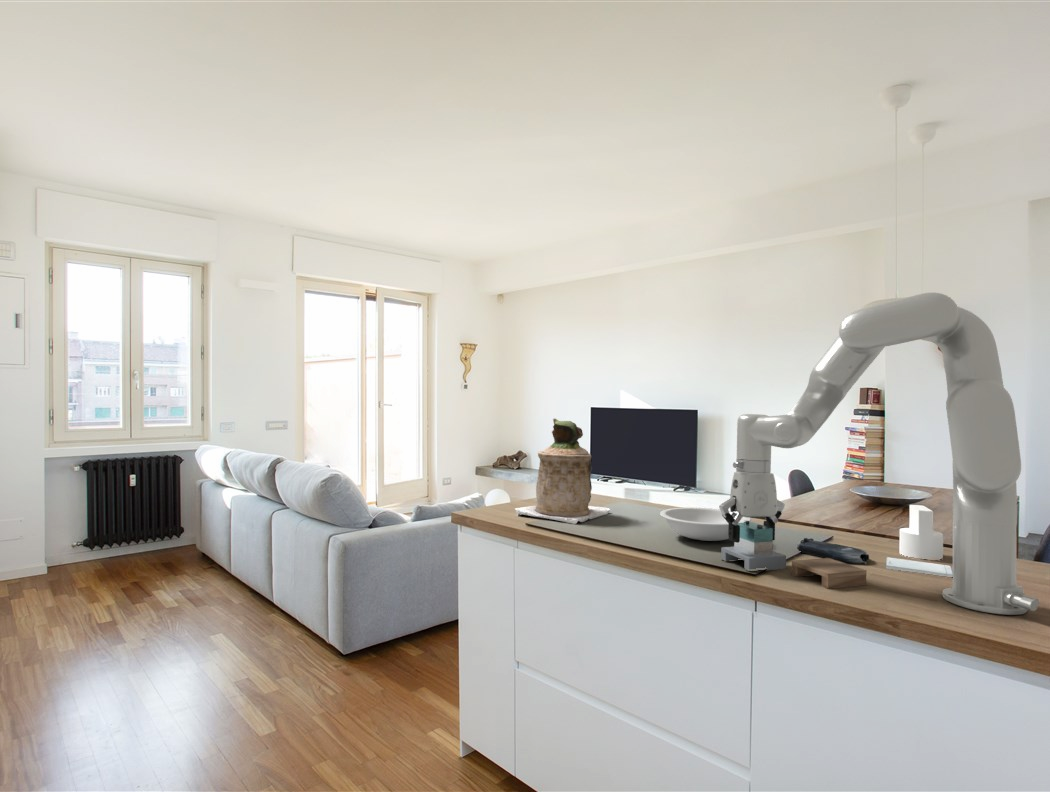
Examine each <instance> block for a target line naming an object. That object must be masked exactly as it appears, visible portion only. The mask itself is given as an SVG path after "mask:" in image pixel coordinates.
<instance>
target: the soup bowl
mask: <svg viewBox="0 0 1050 792" xmlns="http://www.w3.org/2000/svg"><path fill="white" fill-rule="evenodd" d="M729 513H731V511H730V510H729ZM659 514H660V516H661V517H662V518H664V519H665V520H666V522H667V524H668V525H669V527H670V528H671V529H672V530H673V531H674V532H676V533H677V534H679V535H680V536H682V537H685V538H686V539H687V538H688V539H690V540H695V541H696V540H698V541H705V542H706V541H707V542H717V541H724V540H729V536H728V527H729V523H727V522H726V520H725V518H724V517H723V516H722V513H721V510H720V508H719V509H718V508H708V507H691V506H690V507H689V506H688V507H674V508H673V507H672V508H668V509H667V508H666V509H664V510H661V511H660V512H659ZM735 517H736V516H735ZM744 521H749V522H752V517H742V519H741V520H740V521H739V523H744Z"/></svg>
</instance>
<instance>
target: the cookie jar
mask: <svg viewBox="0 0 1050 792" xmlns="http://www.w3.org/2000/svg"><path fill="white" fill-rule="evenodd" d="M552 420H553V426H552V429H553V430H552V431H551V435H552V437H553V440H554V442H553V443H552V444H551V445H550V446H547V447H546V449H544V450H540V451H538V452H537V457H538V458H539V467H538V472H537V479H536V481H537V482H536V484H535V499H536V505H530V506H523V507H522V506H521V507H516V508H514V510H515V512H516V517H519V516H520V515H524V516H530V517H534V518H541V519H547V520H548V519H549V520H555V521H560V522H563V523H567V524H572V525H577V523H578V522H580V523H584V522H586V521H588V520H593V519H596V518H599V517H602V516H606V515H608V514H610V513H611V509H610V508H608V507H604V506H593V505H589V503H590V502H591V499H592V494H591V493H592V490H593V489H592V488H593V486H592V480H591V479H592V478H591V477H592V476H591V474H592V470H593V467H592V463H591V462H592V460H591V459H592V454H591V453H590V452H589V451H588V450H587V449H586V448H583V447H582V446H581V445H580V442H579V441H578V440H579V439H581V438H582V437H583V435H584V433H583V430H582V427H578V426H577V424H576V423H575V422H573V421H571V420H558V419H557V418H555V417H554V418H552Z"/></svg>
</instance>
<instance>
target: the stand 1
mask: <svg viewBox="0 0 1050 792" xmlns="http://www.w3.org/2000/svg"><path fill="white" fill-rule="evenodd" d="M720 550H721V551H720V552H721V554H720V557H721V558H720V560H721V559H723V560H725V561H729V560H738V559H743V561H744V567H743V568H747V569H756V568H765V567H766V568H768V569H767V570H766V571H774V570H775V571H776V570H777V571H778V570H786V569H787V555H786V554H783V553H780V552H777V551H774V550H772V555H761V556H753V555H750V554H748V553H745V552H742V551H740V550H737V549H734V546H723V547H721V549H720ZM725 561H724V562H725Z"/></svg>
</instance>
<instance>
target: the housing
mask: <svg viewBox="0 0 1050 792" xmlns="http://www.w3.org/2000/svg"><path fill="white" fill-rule="evenodd" d="M737 525H740V542H739V543H736V542H733V544H734V545H733V547H734V549H737V550H740V551H742V552H745V553H748V554H750V555H753V556H761V555H772V551H773V541H774V540H773V528H770V527H767V526H763V524H761V523H756V522H753V521H750V522H749V521H744V523H738V524H737Z"/></svg>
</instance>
